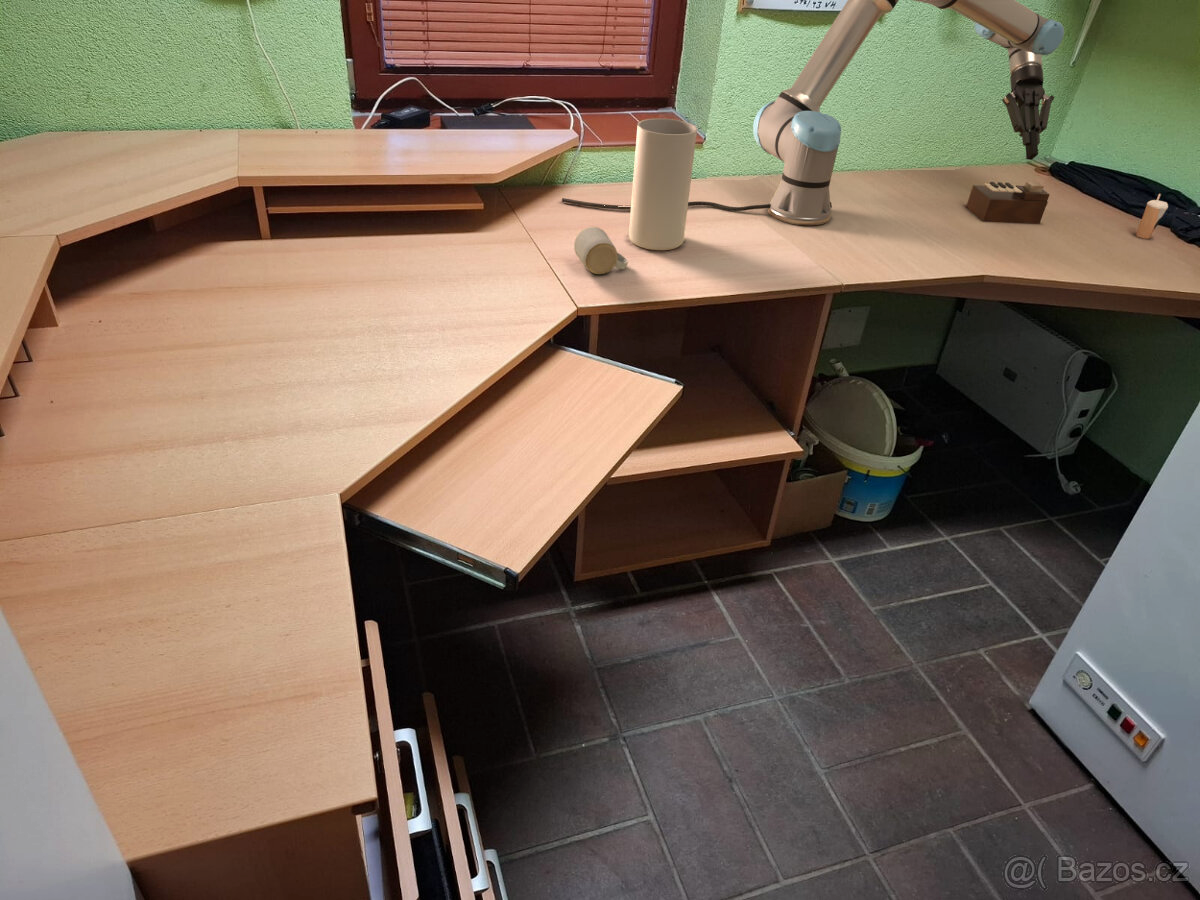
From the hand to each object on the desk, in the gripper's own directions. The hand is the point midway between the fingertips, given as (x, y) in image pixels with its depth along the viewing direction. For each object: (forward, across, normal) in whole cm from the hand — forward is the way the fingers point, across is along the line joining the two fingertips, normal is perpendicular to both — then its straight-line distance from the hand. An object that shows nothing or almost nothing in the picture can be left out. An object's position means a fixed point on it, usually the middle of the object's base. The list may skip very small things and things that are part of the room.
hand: (1032, 156), depth 207 cm
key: (+9, 0, -1) cm, 9 cm away
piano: (+13, +5, -7) cm, 15 cm away
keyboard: (+9, +8, -1) cm, 12 cm away
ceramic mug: (+43, +112, +23) cm, 122 cm away
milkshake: (+21, -27, 0) cm, 34 cm away
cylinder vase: (+32, +99, +12) cm, 105 cm away
